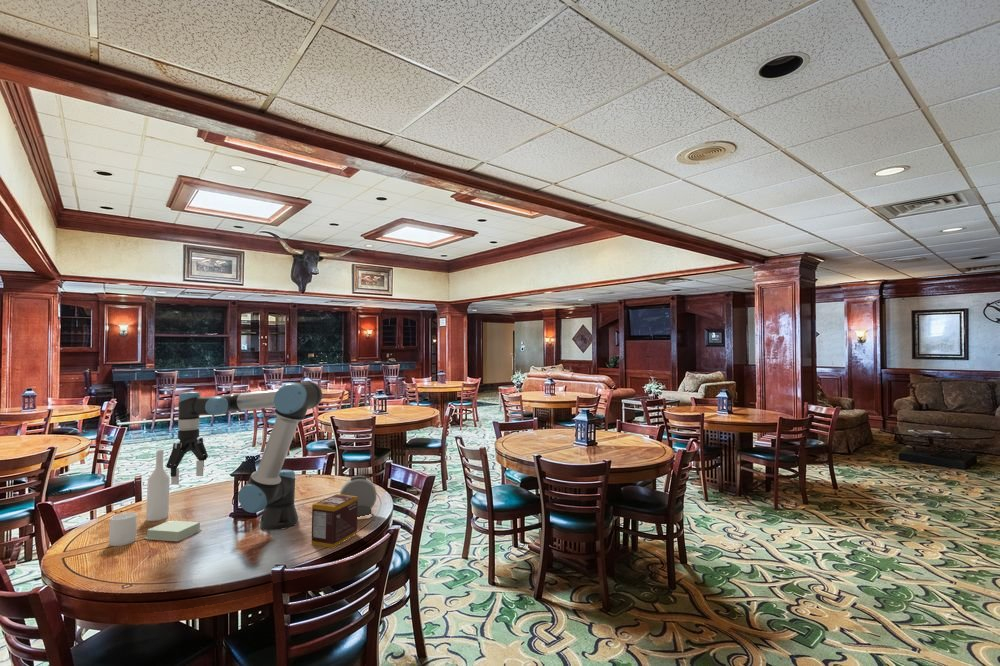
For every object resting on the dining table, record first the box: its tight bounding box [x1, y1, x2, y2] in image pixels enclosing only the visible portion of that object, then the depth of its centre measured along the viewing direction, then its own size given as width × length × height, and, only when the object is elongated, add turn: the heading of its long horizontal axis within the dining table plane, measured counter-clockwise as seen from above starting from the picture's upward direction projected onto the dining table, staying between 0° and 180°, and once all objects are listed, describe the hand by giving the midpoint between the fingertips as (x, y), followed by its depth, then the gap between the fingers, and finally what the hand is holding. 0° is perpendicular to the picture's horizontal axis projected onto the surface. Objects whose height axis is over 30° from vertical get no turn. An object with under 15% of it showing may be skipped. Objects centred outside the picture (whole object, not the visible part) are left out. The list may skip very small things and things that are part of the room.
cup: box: [108, 512, 138, 547], centre depth 188 cm, size 8×12×10 cm
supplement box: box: [311, 493, 358, 549], centre depth 191 cm, size 10×15×16 cm
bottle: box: [145, 449, 171, 522], centre depth 214 cm, size 8×8×30 cm
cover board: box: [146, 520, 201, 540], centre depth 195 cm, size 14×11×3 cm
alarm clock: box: [339, 474, 378, 517], centre depth 218 cm, size 16×10×18 cm, turn 108°
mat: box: [144, 528, 202, 542], centre depth 194 cm, size 15×12×1 cm
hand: (187, 480), depth 200 cm, fingers open, 13 cm apart
